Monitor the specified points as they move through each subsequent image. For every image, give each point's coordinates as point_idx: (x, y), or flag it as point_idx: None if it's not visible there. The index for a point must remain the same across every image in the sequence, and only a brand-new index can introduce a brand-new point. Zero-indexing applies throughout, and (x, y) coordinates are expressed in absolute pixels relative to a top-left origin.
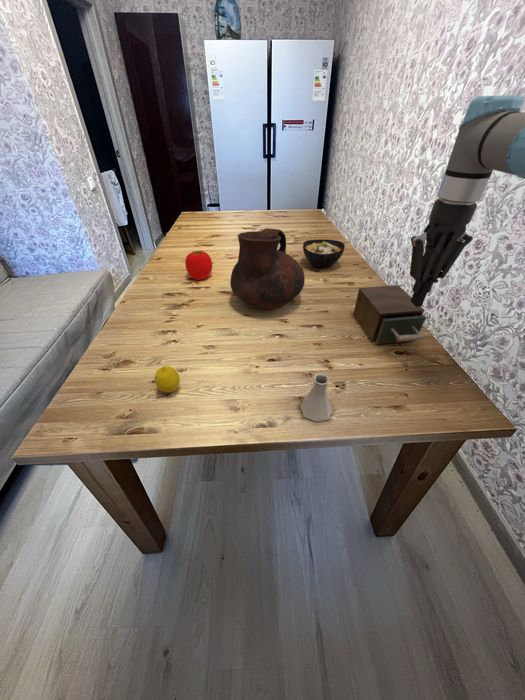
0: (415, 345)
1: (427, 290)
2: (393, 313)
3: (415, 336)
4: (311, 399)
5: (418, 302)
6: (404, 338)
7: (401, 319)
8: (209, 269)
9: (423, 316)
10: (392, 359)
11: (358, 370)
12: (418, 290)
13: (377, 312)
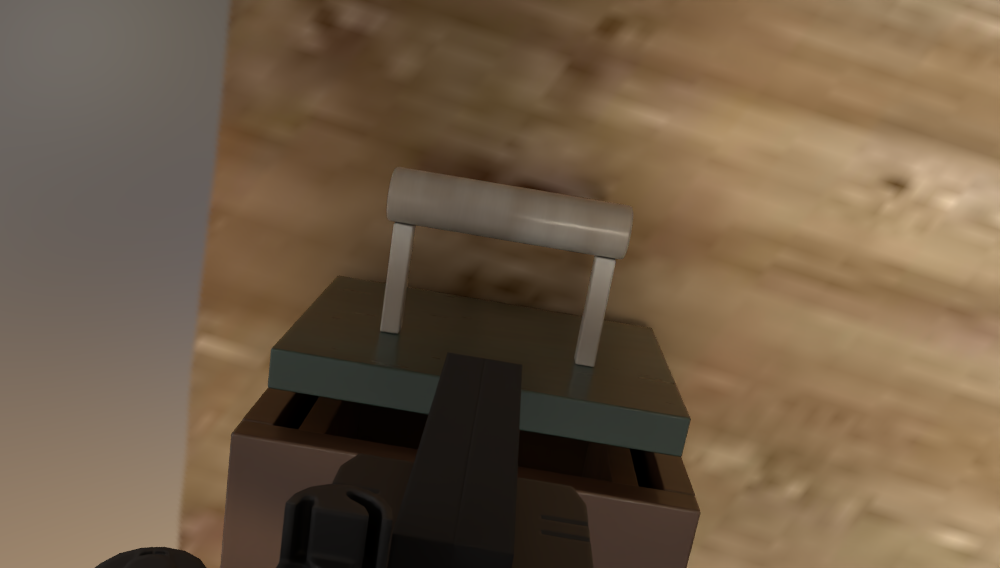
0: (358, 243)
1: (430, 456)
2: (558, 483)
3: (478, 194)
4: None
5: (510, 386)
6: (586, 204)
7: (522, 392)
8: None
9: (281, 370)
10: (631, 158)
11: (951, 130)
12: (550, 508)
13: (685, 548)
